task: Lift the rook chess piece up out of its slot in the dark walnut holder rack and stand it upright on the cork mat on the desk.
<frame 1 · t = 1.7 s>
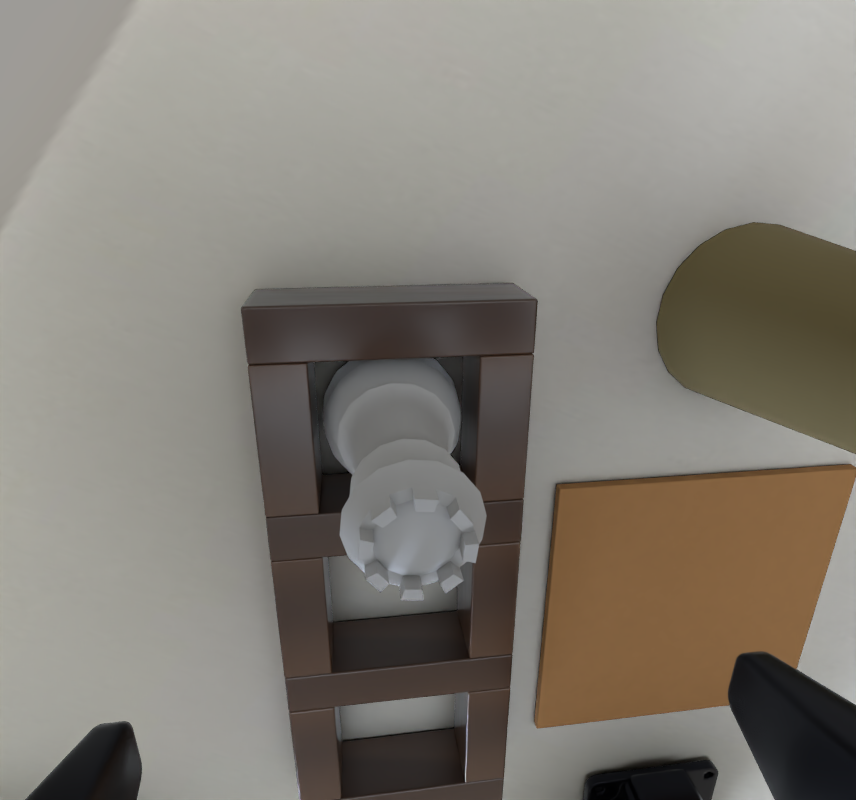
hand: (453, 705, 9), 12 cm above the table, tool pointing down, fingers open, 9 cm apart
piece rack: (394, 564, 22), on the table
rook chess piece: (390, 403, 20), resting in piece rack
cork mat: (682, 600, 24), on the table
pepper shaker: (737, 313, 20), on the table
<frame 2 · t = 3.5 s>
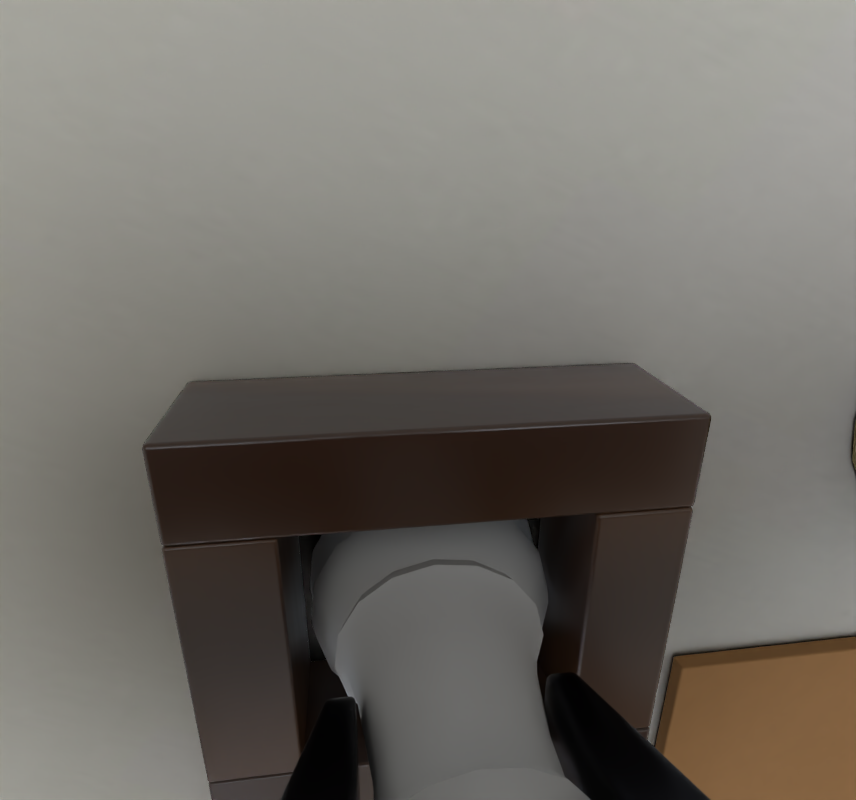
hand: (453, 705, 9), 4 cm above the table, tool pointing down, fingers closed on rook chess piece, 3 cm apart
piece rack: (422, 774, 14), on the table
rook chess piece: (420, 551, 12), resting in piece rack, touching gripper
cork mat: (835, 793, 17), on the table
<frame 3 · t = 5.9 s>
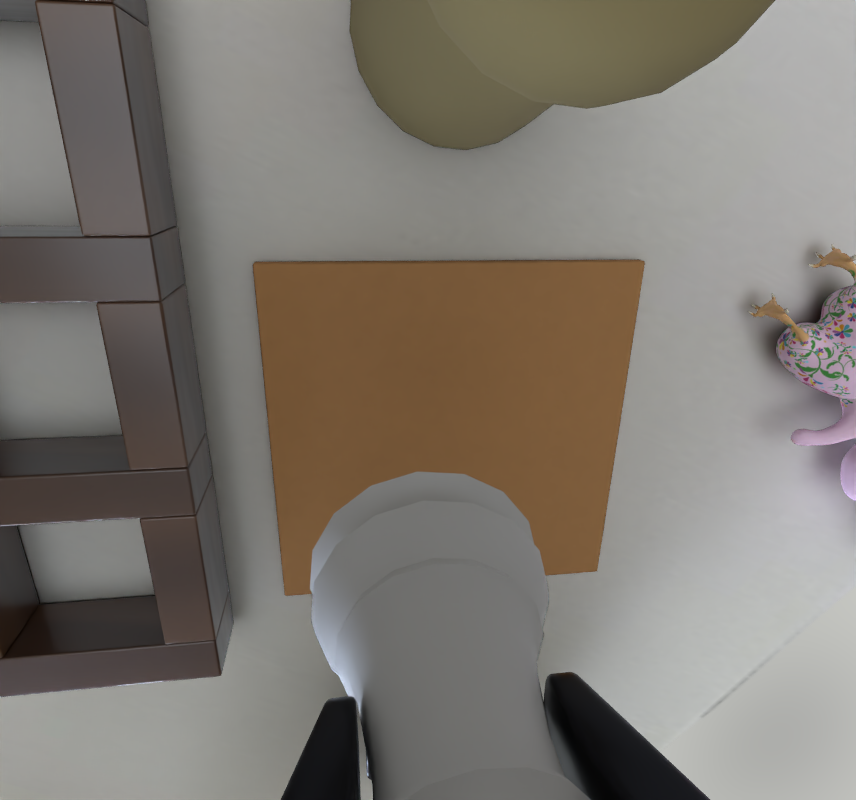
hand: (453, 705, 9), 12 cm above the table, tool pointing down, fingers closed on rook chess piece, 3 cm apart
piece rack: (57, 364, 17), on the table
rook chess piece: (421, 550, 12), point 8 cm above the table, touching gripper
cork mat: (449, 436, 20), on the table
pepper shaker: (461, 28, 16), on the table
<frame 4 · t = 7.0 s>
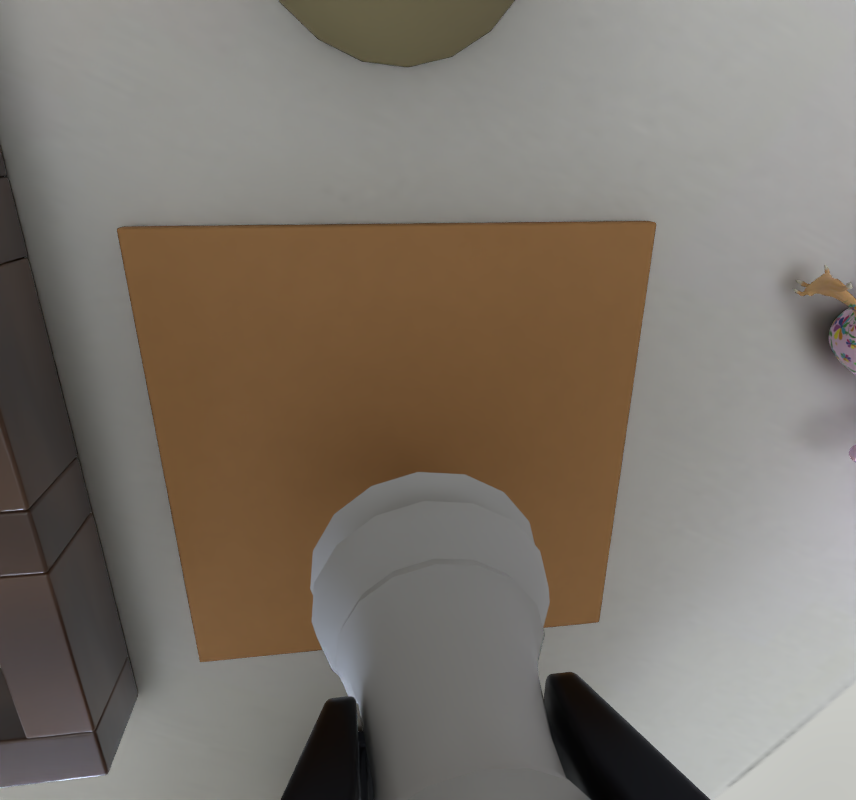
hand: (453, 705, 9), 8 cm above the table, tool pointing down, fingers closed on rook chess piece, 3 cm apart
rook chess piece: (421, 551, 12), point 4 cm above the table, touching gripper
cork mat: (404, 457, 16), on the table
when the fingers open (4 cm above the table, at t = 8.2 s): rook chess piece stays where it is, resting on cork mat.
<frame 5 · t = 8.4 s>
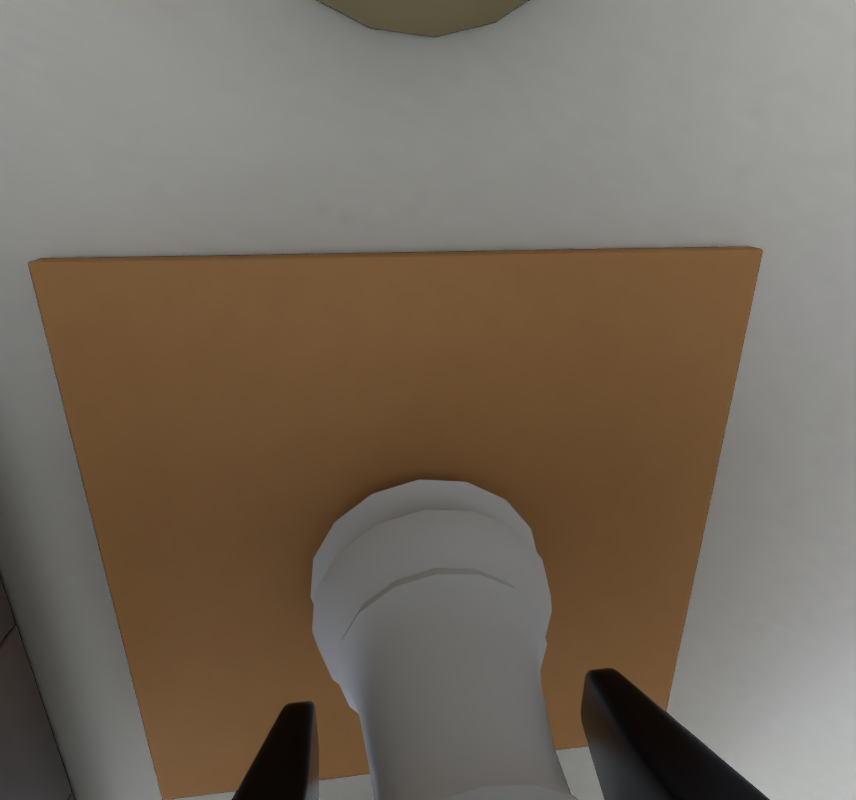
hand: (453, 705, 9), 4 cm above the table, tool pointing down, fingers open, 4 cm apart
rook chess piece: (422, 558, 12), resting on cork mat
cork mat: (422, 548, 12), on the table
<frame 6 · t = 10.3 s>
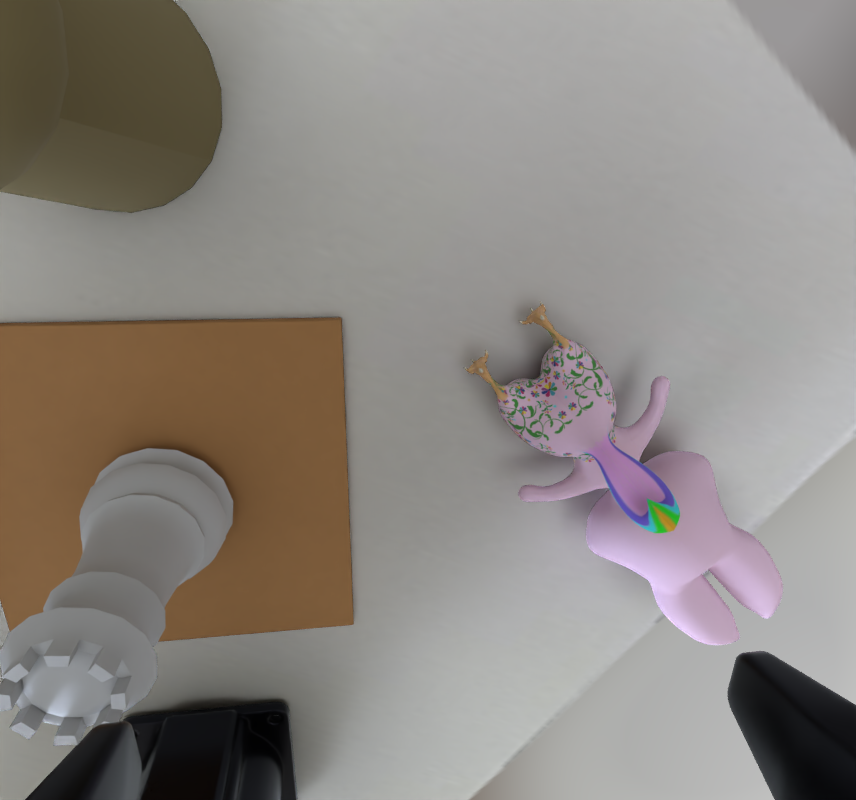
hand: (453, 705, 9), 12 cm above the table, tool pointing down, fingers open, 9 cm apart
rook chess piece: (168, 498, 20), resting on cork mat
cork mat: (170, 493, 20), on the table
pepper shaker: (106, 94, 16), on the table
pink creature figurine: (612, 466, 22), on the table
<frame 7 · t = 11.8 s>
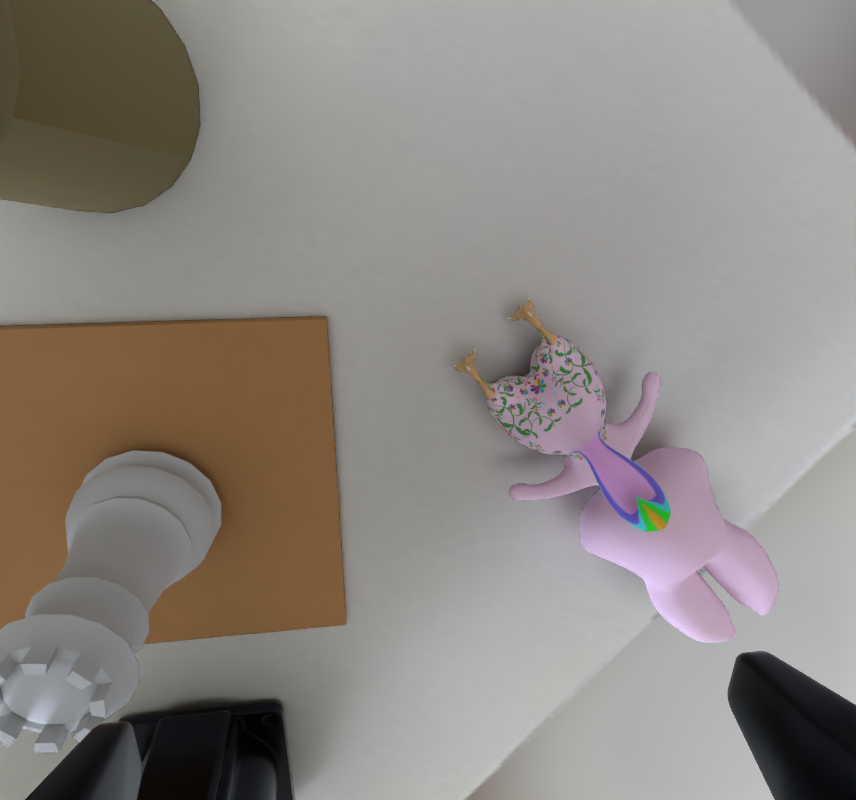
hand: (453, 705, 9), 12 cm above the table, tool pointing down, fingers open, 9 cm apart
rook chess piece: (157, 500, 20), resting on cork mat
cork mat: (158, 494, 20), on the table
pepper shaker: (82, 93, 15), on the table
pink creature figurine: (606, 463, 22), on the table
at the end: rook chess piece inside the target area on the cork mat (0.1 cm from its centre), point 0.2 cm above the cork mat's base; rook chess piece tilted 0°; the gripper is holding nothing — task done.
